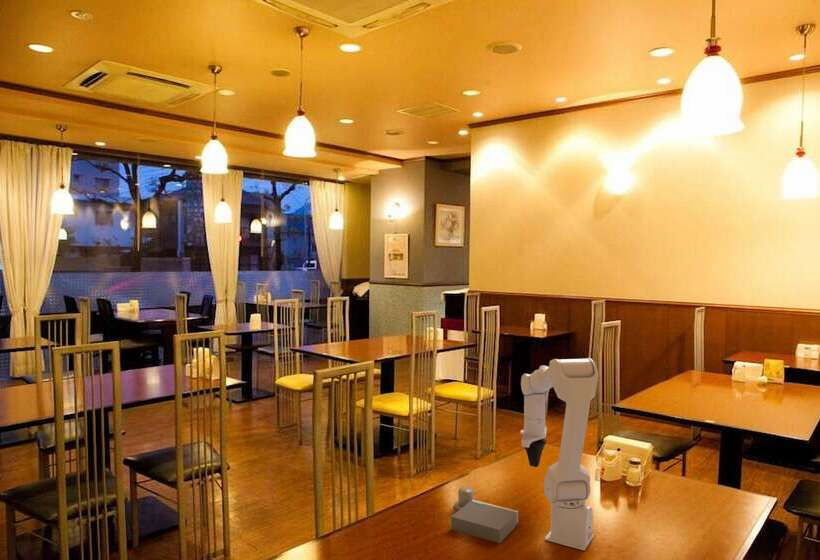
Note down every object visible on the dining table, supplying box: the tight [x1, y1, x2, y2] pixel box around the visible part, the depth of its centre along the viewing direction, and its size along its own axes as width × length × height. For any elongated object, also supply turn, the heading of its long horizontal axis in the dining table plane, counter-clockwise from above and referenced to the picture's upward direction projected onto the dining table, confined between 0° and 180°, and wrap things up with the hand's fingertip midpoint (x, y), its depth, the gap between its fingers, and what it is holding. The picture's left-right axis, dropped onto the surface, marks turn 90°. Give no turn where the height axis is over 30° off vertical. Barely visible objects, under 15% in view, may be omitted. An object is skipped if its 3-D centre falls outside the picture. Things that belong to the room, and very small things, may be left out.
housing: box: [450, 501, 518, 545], centre depth 144 cm, size 13×11×3 cm
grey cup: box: [454, 486, 474, 511], centre depth 156 cm, size 6×6×5 cm
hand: (534, 465), depth 159 cm, fingers closed
